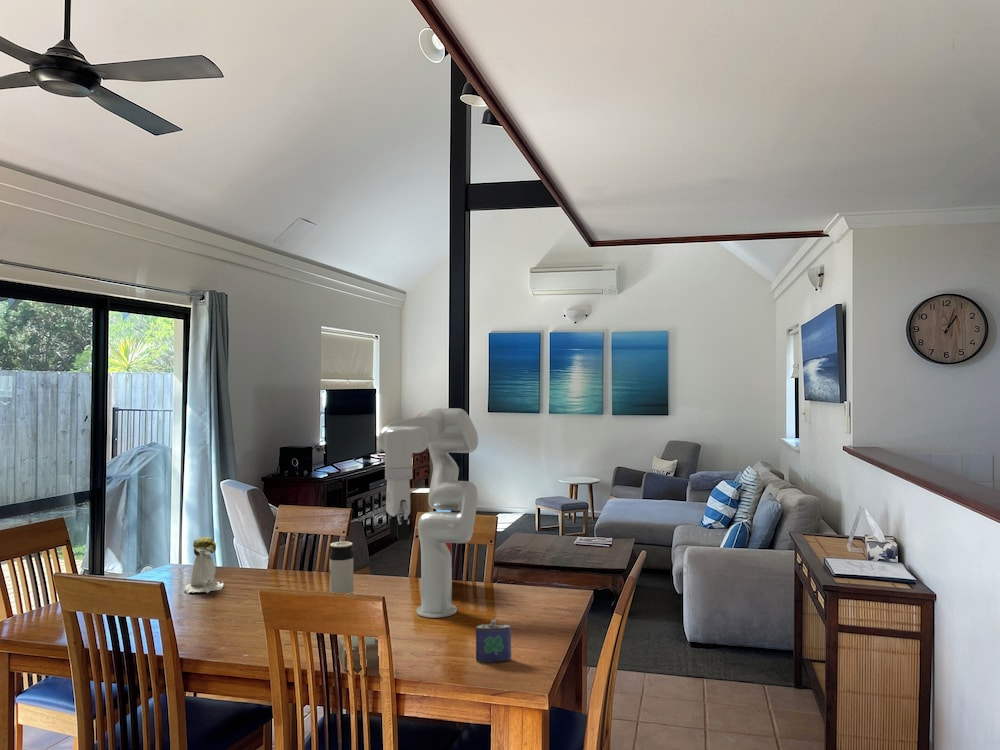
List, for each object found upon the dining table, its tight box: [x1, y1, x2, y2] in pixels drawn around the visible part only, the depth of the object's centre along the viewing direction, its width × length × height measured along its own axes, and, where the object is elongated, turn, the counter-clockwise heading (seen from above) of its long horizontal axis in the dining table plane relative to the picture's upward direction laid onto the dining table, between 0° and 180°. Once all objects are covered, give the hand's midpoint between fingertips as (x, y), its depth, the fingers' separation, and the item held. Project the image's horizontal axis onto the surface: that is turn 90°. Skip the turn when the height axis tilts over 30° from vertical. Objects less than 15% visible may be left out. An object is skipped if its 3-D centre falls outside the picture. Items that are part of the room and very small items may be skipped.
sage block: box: [351, 636, 375, 647], centre depth 193 cm, size 6×6×6 cm
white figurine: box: [183, 536, 224, 595], centre depth 264 cm, size 12×13×18 cm
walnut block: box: [337, 637, 380, 671], centre depth 193 cm, size 10×10×5 cm
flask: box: [475, 618, 512, 664], centre depth 193 cm, size 9×3×11 cm, turn 95°
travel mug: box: [329, 540, 354, 594], centre depth 254 cm, size 8×8×18 cm
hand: (399, 535), depth 204 cm, fingers open, 9 cm apart
